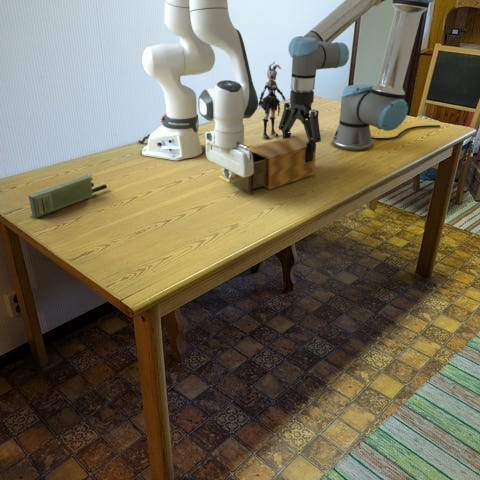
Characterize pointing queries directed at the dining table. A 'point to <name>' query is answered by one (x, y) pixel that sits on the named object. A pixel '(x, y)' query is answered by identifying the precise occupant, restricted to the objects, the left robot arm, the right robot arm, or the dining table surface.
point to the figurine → (270, 99)
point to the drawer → (257, 177)
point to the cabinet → (286, 160)
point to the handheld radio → (62, 195)
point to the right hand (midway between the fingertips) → (297, 156)
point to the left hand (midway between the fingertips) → (229, 181)
